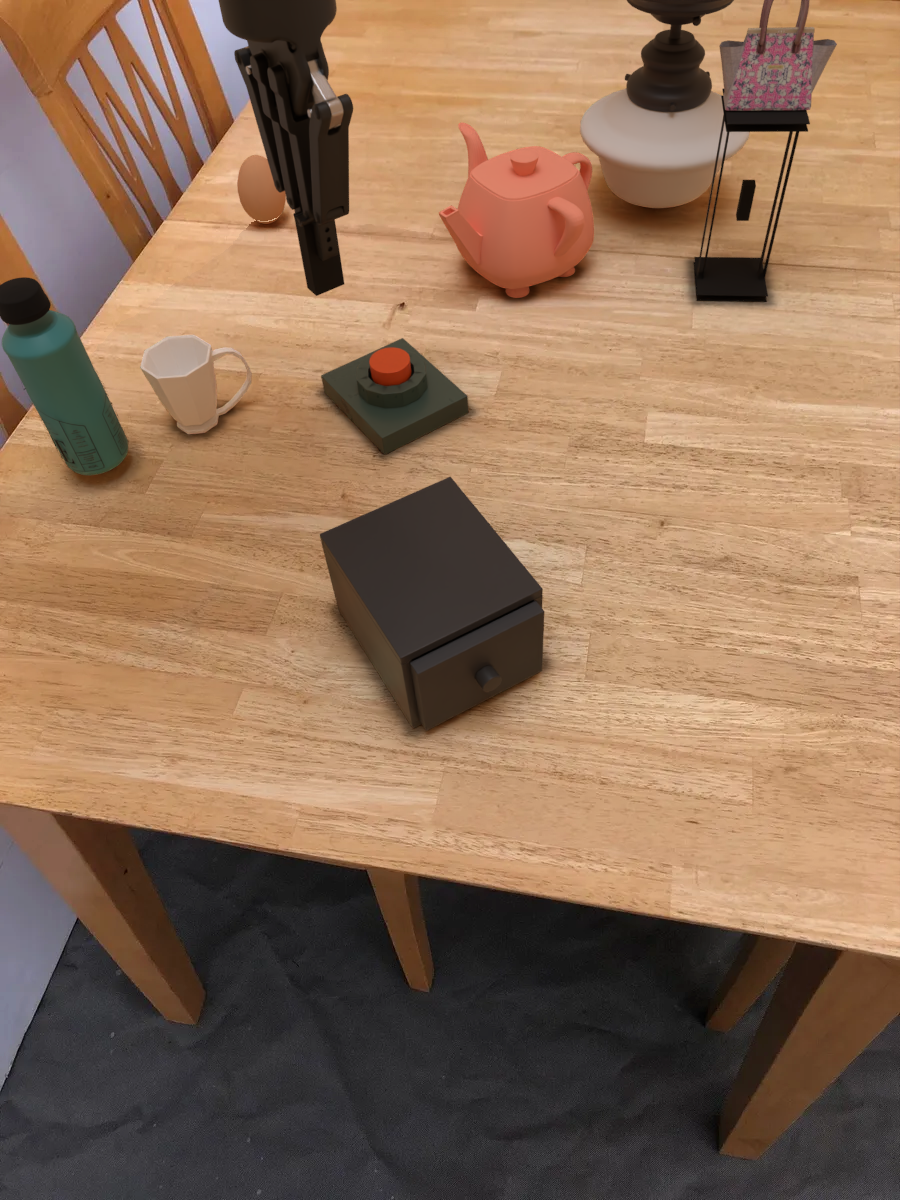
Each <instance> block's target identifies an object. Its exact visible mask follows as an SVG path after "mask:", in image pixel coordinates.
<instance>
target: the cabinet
mask: <svg viewBox="0 0 900 1200" xmlns="http://www.w3.org/2000/svg"><path fill="white" fill-rule="evenodd" d="M319 538H320V542H321V547H322V550H323V554H324V559H325V562H326V566H327V570H328V574H329V578H330V583H331V587H332V591H333V593H334V598H335V602H336V606H337V609H338V611H339V613H340V614H341V616H342V618H343V619H344V621H345V623H346V624H347V626H348V627H349V629H350V631H351V632H352V634H353V636H354V637H355V638H356V640H357V642H358V643H359V645H360V647H361V648H362V650H363V652H364V653H365V654H366V656H367V658H368V659H369V661H370V663H371V664H372V666H373V668H374V669H375V671H376V672H377V674H378V676H379V677H380V679H381V680H382V682H383V684H384V685H385V687H386V688H387V690H388V692H389V693H390V695H391V697H392V698H393V700H394V701H395V703H396V705H397V706H398V708H399V709H400V711H401V712H402V715H404V717H405V719H406V720H407V722H408V723H409V725H410V727H411V728H412V729H415V728H417V727H419V726H422V724H421V722H420V721H419V716H418V710H417V704H416V698H415V691H414V685H413V679H412V673H411V667H410V662H412V661H411V660H412V659H414V658H416V657H418V656H420V655H422V654H424V653H426V652H428V651H430V650H432V649H434V648H436V647H438V646H440V645H442V644H444V643H446V642H448V641H450V640H452V639H454V638H456V637H458V636H461V635H463V634H465V633H467V632H469V631H471V630H473V629H475V628H477V627H479V626H481V625H483V624H485V623H487V622H489V621H491V620H493V619H495V618H497V617H499V616H501V615H503V614H505V613H507V612H509V611H511V610H513V609H515V608H517V607H518V609H519V608H521V607H523V606H526V605H528V604H530V603H532V602H534V601H537V603H538V604H539V605H540V606H541V607H542V608H543V601H544V600H543V598H544V597H543V594H544V593H543V591H544V590H543V587H542V586H541V584H539V582H538V581H537V580H536V578H535V577H534V576H533V575H532V573H530V571H529V570H528V569H527V567H526V566H525V565H524V564H523V563H522V562H521V560H520V559H519V558H518V557H517V556H516V554H515V553H514V552H513V551H512V549H511V548H510V546H508V545H507V543H506V541H504V540H503V538H502V537H501V536H500V535H499V534H498V533H497V531H496V530H495V529H494V527H493V526H492V525H491V524H490V523H489V521H488V520H487V519H486V518H485V517H484V516H483V514H482V513H481V512H480V510H479V509H478V508H477V507H476V506H475V504H474V503H473V502H472V501H471V499H470V498H469V497H468V496H467V495H466V493H465V492H464V491H463V490H462V489H461V488H460V486H459V485H458V484H457V482H455V480H454V479H453V478H452V477H451V476H449V477H445V478H444V479H441V480H439V481H437V482H434V483H432V484H430V485H427V486H425V487H423V488H421V489H419V490H416V491H414V492H412V493H409V494H408V495H404V496H403V497H400V498H397V499H396V500H393V501H392V502H389V503H387V504H384V505H383V506H382V505H381V506H380V507H377V508H375V509H372V510H371V511H368V512H366V513H363V514H362V515H360V516H357V517H355V518H352V519H351V520H348V521H346V522H343V523H341V524H339V525H337V526H334V527H332V528H329V529H327V530H325V531H323V532H320V533H319Z"/></svg>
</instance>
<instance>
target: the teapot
mask: <svg viewBox="0 0 900 1200" xmlns="http://www.w3.org/2000/svg"><path fill="white" fill-rule="evenodd" d="M457 127H458V129H459V132H460V133H461V136H462V137H463V139H464V142H465V145H466V151H467V161H468V163H467V165H468V166H467V179H466V182H465V184H464V187H463V190H462V193H461V195H460V198H459V201H458V205H457V208H456V207H455V206H453V205H448V206H447V207H446V208H443V209H442V210H440V211H439V212H438V216H439V218H440V219H441V221H442V223H443V224H444V227H445V228H446V230H447V231H448V233H449V235H450V237H451V239H452V240H453V242H454V243H455V246H456V249H457V250H458V252H459V254H460V255H461V256H462V258H463V259H464V260H465V262H466V263H467V264H468V266H469V267H471V268H472V269H473V270H474V271H475V272H477V274H479V275H480V276H482V277H483V278H484V279H485V280H487V281H489V282H490V283H492V284H494V285H495V286H497V287H499V288H502V289H505V294H506V295H507V296H508V297H511V298H513V299H519V298H525V297H527V296H528V295H529V293H530V287H531V286H535V285H539V284H542V283H545V282H548V281H551V280H554V279H555V278H558V277H560V278H567V277H570V276H572V275H574V274H575V272H576V268H575V267H576V266H577V265H578V264H579V263H580V262H582V260H583V259H584V258H585V257H586V256H587V254H588V252H589V251H590V249H591V247H592V245H593V243H594V239H595V221H594V214H593V208H592V202H591V198H590V195H589V192H588V191H589V187H590V184H591V181H592V177H593V164H592V162H591V160H590V159H589V158H588V157H587V156H586V155H585V154H582V153H581V152H577V151H576V152H575V151H574V152H573V151H572V152H568V153H566V154H564V155H562V156H561V155H560V154H558V153H556V152H554V151H553V150H551V149H548V148H546V147H544V146H540V145H531V146H525V147H520V148H515V149H513V150H510V151H506V152H503V153H500V154H498V155H495V156H493V157H491V158H488V155H487V152H486V150H485V146H484V144H483V141H482V139H481V137H480V135H479V133H478V132H477V130H476V129H475V128H474V127H473V126H471V125H470V124H468V123H467V122H459V123H458V124H457ZM576 164H579V168H577V166H576Z"/></svg>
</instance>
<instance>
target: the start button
mask: <svg viewBox="0 0 900 1200" xmlns="http://www.w3.org/2000/svg"><path fill="white" fill-rule="evenodd" d="M369 364H370V370H371V377H372V380H373V381H374V382H375V383H376V384H380V385H383V386H393V385H400V384H402V383H404V382H406V381H408V380H409V378H410V377H411V363H410V356H409V354H408V353H407V352H406V351H404V350H402V349H400V348H393V347H391V348H384V349H381V350H378V351H377V352H375V353H374V354H373V355H372V356H371V358H370V360H369Z"/></svg>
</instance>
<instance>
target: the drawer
mask: <svg viewBox="0 0 900 1200" xmlns="http://www.w3.org/2000/svg"><path fill="white" fill-rule="evenodd" d="M544 630H545V609H543V606H542V607H541V606H540V605H539V604H538V603H537V601H534V602H532V603H530V604H528V605H526V606H523V607H521V608H519V609H518V607H517V608H515V609H513V610H511V611H509V612H507V613H505V614H503V615H501V616H499V617H497V618H495V619H493V620H491V621H489V622H487V623H485V624H483V625H481V626H479V627H477V628H475V629H473V630H471V631H469V632H467V633H465V634H463V635H461V636H458V637H456V638H454V639H452V640H450V641H448V642H446V643H444V644H442V645H440V646H438V647H436V648H434V649H432V650H430V651H428V652H426V653H424V654H422V655H420V656H418V657H416V658H414V659H412V660H411V661H412V662H410V667H411V673H412V679H413V685H414V691H415V698H416V704H417V710H418V716H419V721H420V722H421V726H422V727H423V729H424V730H425V731H426V732H427V731H429V730H431V729H433V728H435V727H437V726H438V725H440V724H443V723H444V722H446V721H448V720H450V719H452V718H454V717H456V716H458V715H460V714H462V713H464V712H467V711H468V710H470V709H472V708H473V707H476V706H477V705H479V704H481V703H483V702H484V701H487V700H489V699H491V698H493V697H495V696H497V695H499V694H500V693H502V692H504V691H506V690H508V689H511V688H512V687H514V686H516V685H518V684H520V683H522V682H523V681H525V680H527V679H529V678H531V677H534V676H535V675H537V674H539V673H541V672H542V671H543V656H544V637H545V636H544V633H545V631H544Z"/></svg>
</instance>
